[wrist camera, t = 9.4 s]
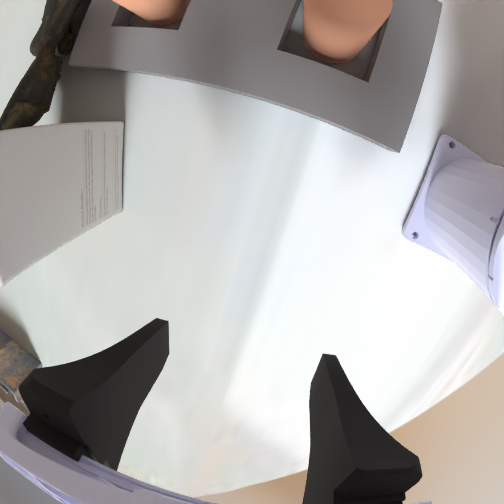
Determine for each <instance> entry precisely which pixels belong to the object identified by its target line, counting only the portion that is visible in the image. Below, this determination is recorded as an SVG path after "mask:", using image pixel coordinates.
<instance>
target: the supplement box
mask: <svg viewBox="0 0 504 504" xmlns="http://www.w3.org/2000/svg"><path fill="white" fill-rule="evenodd" d="M123 130H124V122H121V121H98V122H76V123H62V124H51V125H40V126H31V127H23V128H15V129H9V130H2V131H0V286H2V287H4V286H5V285H6V284H8V283H9V282H10V281H11V280H13V279H14V278H15V277H17V276H18V275H19V274H21V273H22V272H23V271H25V270H26V269H28V268H29V267H31V266H32V265H34V264H35V263H37V262H38V261H40V260H41V259H43V258H45V257H46V256H48V255H49V254H51V253H52V252H54V251H56V250H57V249H59V248H61V247H62V246H64V245H65V244H67V243H69V242H70V241H72V240H74V239H75V238H77V237H79V236H81V235H82V234H84V233H86V232H87V231H89V230H91V229H93V228H94V227H96V226H98V225H100V224H101V223H103V222H105V221H106V220H108V219H110V218H112V217H113V216H115V215H117V214H119V213H121V212H122V151H123Z"/></svg>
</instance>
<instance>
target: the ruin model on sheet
mask: <svg viewBox="0 0 504 504" xmlns="http://www.w3.org/2000/svg"><path fill="white" fill-rule="evenodd" d="M36 368H42V363H41V362H40V361H38V360H37V359H36V358H34V357H33V356H32V355H30V354H29V353H28V352H27V351H25V350H24V349H23V348H22V347H20V346H19V345H18V344H17V343H15V342H14V341H13V340H12V339H11V338H9V337H8V336H7V335H6V334H5V333H4V332H3V331H1V330H0V387H1V388H2V389H3V390H4V391H5V392H6V393H7V394H8V393H9V392H10V391H11V392H13V394H14V396H15V399H16V401H17V402H19V401H20V400H21V399H22V397H21V395H20V393H19V388H18V387H19V385H20V384H21V382H22V381H23V380H24V379H25V378H26V377H27V376H28V375H29V374H30V372H31V371H32V370H33V369H36Z"/></svg>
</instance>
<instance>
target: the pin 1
mask: <svg viewBox="0 0 504 504" xmlns="http://www.w3.org/2000/svg"><path fill="white" fill-rule="evenodd" d="M112 1H114V2H116V3H118V4H119V5H121V6H123V7H125V8H126V9H128V10H130V11H132V12H133V13H135V14H137V15H138V16H140V17H141V18H143V19H145V20H146V21H148V22H150V23H151V24H154V25H168V24H171V23H173V22H176V21H177V20H179V19H181V18H182V17H183V16H184V15H185V13H186V11H187V8H188V6H189V4H190V2H191V0H112Z"/></svg>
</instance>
